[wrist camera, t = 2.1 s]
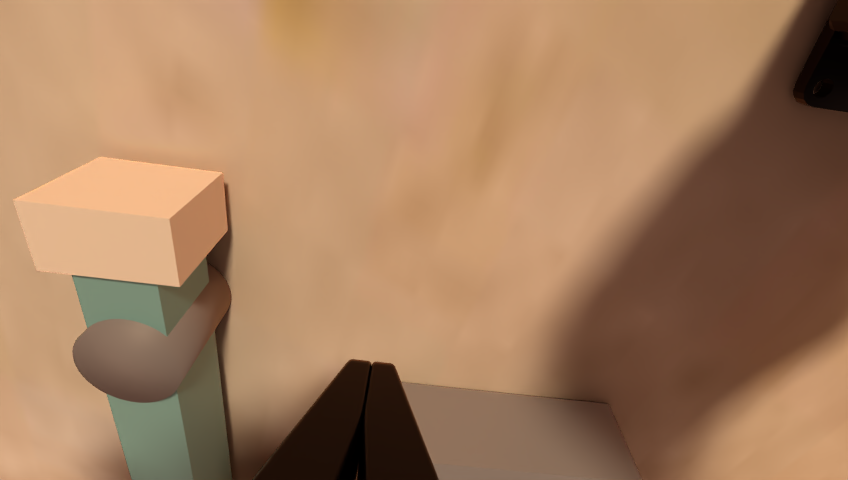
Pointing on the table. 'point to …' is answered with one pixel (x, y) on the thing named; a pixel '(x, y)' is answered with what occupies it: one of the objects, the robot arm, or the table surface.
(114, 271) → the lever
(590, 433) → the pocket
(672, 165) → the table surface
